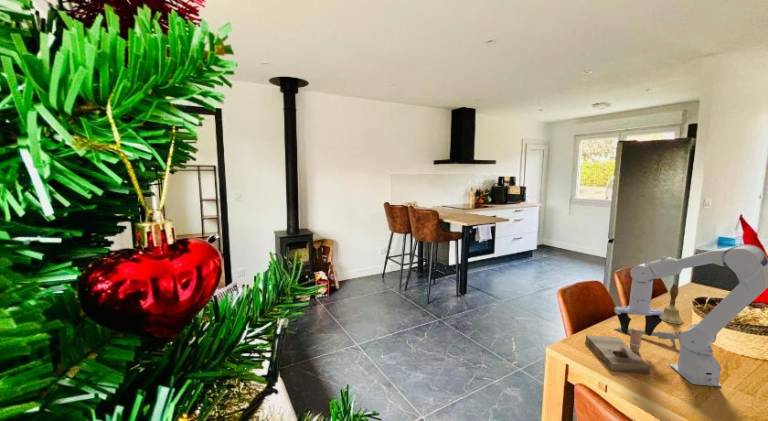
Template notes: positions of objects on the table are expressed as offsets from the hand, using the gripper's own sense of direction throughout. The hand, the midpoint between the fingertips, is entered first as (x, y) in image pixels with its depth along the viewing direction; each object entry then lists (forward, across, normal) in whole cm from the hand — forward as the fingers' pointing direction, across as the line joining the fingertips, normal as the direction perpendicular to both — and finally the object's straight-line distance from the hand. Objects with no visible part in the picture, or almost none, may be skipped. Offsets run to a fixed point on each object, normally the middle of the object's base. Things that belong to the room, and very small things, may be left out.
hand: (635, 333), depth 113 cm
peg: (+6, 0, 0) cm, 6 cm away
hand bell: (+7, -30, -28) cm, 42 cm away
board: (+6, +9, +5) cm, 12 cm away
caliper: (+7, -10, -10) cm, 16 cm away
